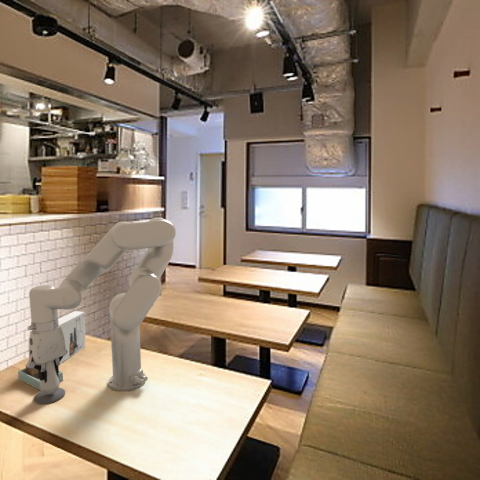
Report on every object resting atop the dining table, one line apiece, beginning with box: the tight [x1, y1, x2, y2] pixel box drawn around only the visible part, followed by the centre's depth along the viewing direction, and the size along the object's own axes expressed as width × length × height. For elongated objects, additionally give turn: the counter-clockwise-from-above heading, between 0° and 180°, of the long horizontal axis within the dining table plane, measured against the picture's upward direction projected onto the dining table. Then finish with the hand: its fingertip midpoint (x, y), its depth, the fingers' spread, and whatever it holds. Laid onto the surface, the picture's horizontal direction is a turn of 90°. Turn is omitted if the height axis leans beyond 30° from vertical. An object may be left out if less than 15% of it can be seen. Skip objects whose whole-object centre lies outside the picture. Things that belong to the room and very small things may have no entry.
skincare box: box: [58, 310, 86, 365], centre depth 150 cm, size 21×5×16 cm, turn 168°
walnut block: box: [25, 362, 39, 380], centre depth 135 cm, size 4×4×5 cm
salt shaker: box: [40, 359, 61, 395], centre depth 122 cm, size 6×6×13 cm
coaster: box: [33, 387, 66, 405], centre depth 123 cm, size 9×9×1 cm
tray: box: [17, 367, 64, 391], centre depth 133 cm, size 14×8×3 cm, turn 58°
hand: (49, 378), depth 122 cm, fingers closed on salt shaker, 3 cm apart
